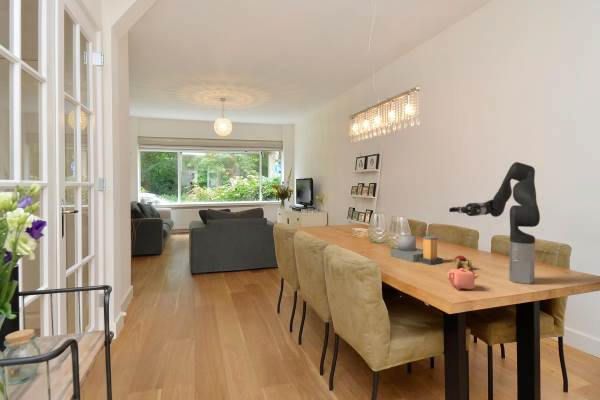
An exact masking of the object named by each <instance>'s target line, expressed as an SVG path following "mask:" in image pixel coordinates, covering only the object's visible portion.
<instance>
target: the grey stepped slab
mask: <svg viewBox="0 0 600 400" xmlns="http://www.w3.org/2000/svg"><path fill="white" fill-rule="evenodd" d="M397 243H398V244H397V245H398V246H397V248H391V249H390V257H393V258H397V259H400V260H402V261H403V260H404V261H407V262H411V263H417V262H418V263H422V264H426V265H429V266H432V265H433V266H434V265H439V264H443V263H444V262H443V261H444V258H442V257H439V256H437V259H432V260H430V259H426V258H423V249H421V248H417V237H416V235H410V234H400V235H398V240H397Z"/></svg>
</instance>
